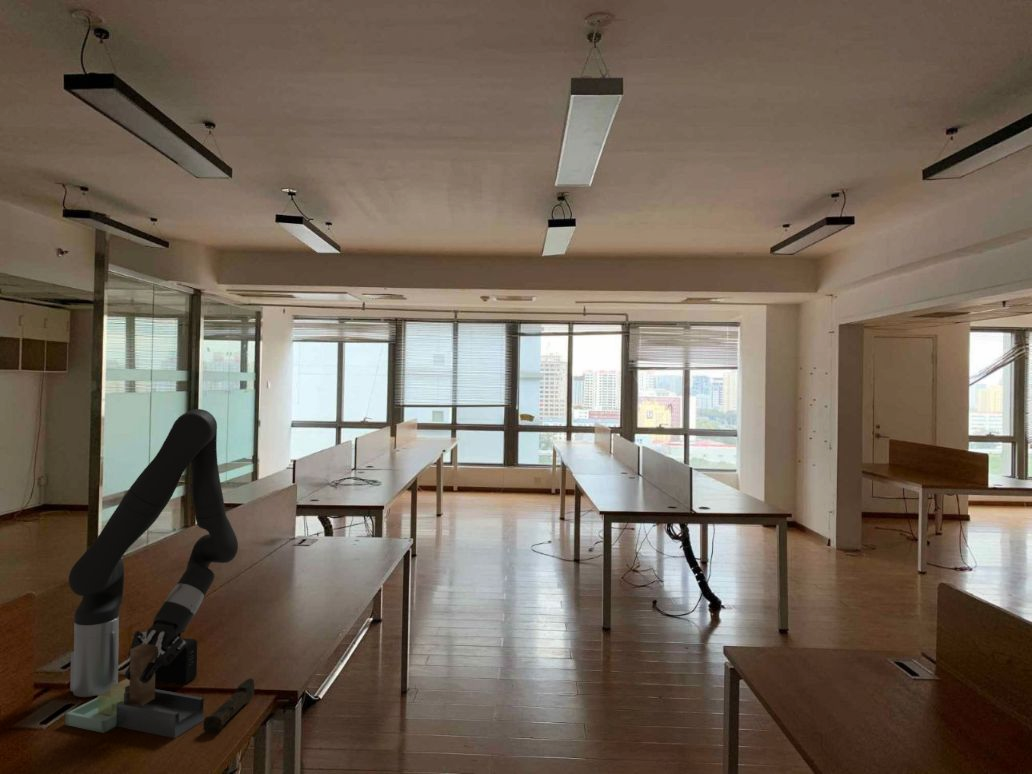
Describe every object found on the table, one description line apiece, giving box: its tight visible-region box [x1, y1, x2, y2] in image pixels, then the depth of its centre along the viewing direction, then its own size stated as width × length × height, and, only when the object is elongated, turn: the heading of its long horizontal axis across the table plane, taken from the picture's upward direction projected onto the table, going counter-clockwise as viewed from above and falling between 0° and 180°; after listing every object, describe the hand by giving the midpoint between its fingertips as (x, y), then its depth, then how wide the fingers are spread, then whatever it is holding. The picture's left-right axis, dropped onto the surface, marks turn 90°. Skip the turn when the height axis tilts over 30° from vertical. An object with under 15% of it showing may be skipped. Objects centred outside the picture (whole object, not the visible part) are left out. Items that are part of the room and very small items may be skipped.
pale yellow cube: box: [111, 678, 130, 705], centre depth 146 cm, size 4×4×4 cm
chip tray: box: [64, 697, 117, 734], centre depth 147 cm, size 11×14×2 cm
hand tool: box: [202, 678, 255, 735], centre depth 149 cm, size 19×4×5 cm, turn 173°
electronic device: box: [155, 637, 198, 685], centre depth 165 cm, size 4×10×10 cm, turn 80°
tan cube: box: [97, 689, 117, 715], centre depth 147 cm, size 4×4×4 cm
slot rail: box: [116, 688, 205, 739], centre depth 143 cm, size 16×8×5 cm, turn 73°
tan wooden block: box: [124, 644, 156, 705], centre depth 145 cm, size 4×5×12 cm
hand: (135, 680), depth 143 cm, fingers closed on tan wooden block, 3 cm apart
